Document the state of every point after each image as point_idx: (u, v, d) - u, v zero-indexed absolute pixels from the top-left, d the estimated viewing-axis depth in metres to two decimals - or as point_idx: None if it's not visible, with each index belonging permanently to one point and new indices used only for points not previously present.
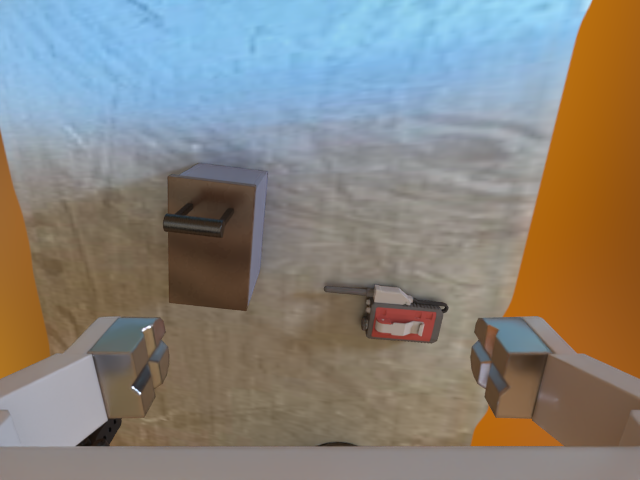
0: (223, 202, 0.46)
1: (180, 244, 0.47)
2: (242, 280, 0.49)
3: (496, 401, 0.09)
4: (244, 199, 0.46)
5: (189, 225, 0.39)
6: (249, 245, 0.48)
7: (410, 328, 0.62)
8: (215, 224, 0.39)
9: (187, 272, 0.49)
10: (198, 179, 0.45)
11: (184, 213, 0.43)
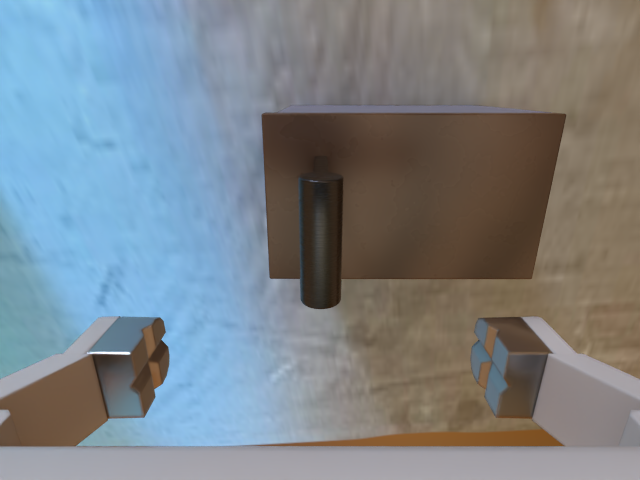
0: None
1: (400, 257, 0.24)
2: (484, 128, 0.21)
3: (495, 401, 0.09)
4: (292, 133, 0.22)
5: (313, 255, 0.16)
6: (396, 117, 0.21)
7: None
8: (305, 194, 0.16)
9: (462, 245, 0.24)
10: None
11: None
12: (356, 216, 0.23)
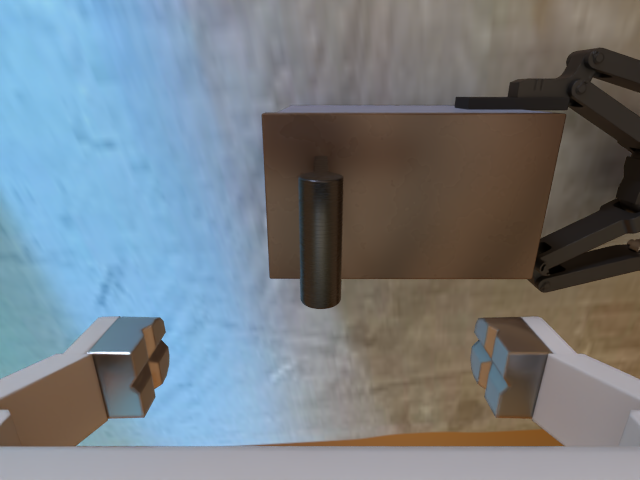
0: None
1: (400, 257, 0.24)
2: (484, 128, 0.21)
3: (495, 401, 0.09)
4: (292, 133, 0.22)
5: (313, 255, 0.16)
6: (396, 116, 0.21)
7: None
8: (305, 194, 0.16)
9: (462, 245, 0.24)
10: None
11: None
12: (356, 216, 0.23)
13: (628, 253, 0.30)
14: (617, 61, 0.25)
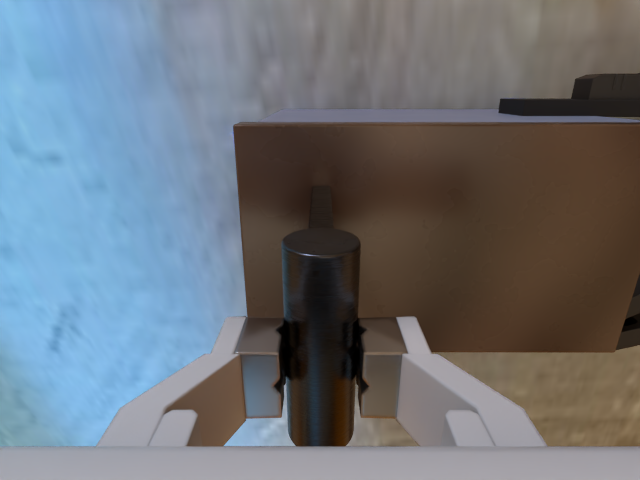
0: (298, 216, 0.15)
1: (433, 324, 0.17)
2: (562, 145, 0.14)
3: (360, 401, 0.09)
4: (279, 153, 0.15)
5: (309, 376, 0.09)
6: (433, 129, 0.14)
7: None
8: (293, 275, 0.09)
9: (521, 308, 0.17)
10: None
11: None
12: (371, 269, 0.16)
13: None
14: None
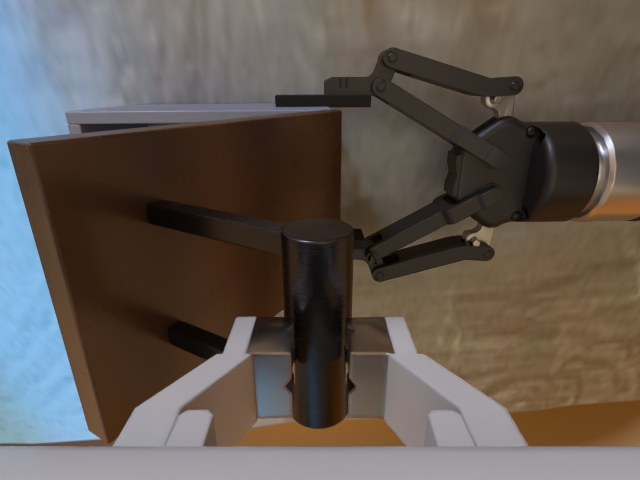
0: (136, 245, 0.13)
1: (260, 301, 0.19)
2: (300, 130, 0.20)
3: (348, 401, 0.09)
4: (101, 174, 0.11)
5: (340, 349, 0.10)
6: (233, 126, 0.15)
7: None
8: (326, 264, 0.09)
9: None
10: (82, 358, 0.12)
11: None
12: (212, 273, 0.16)
13: (457, 243, 0.32)
14: (411, 60, 0.26)
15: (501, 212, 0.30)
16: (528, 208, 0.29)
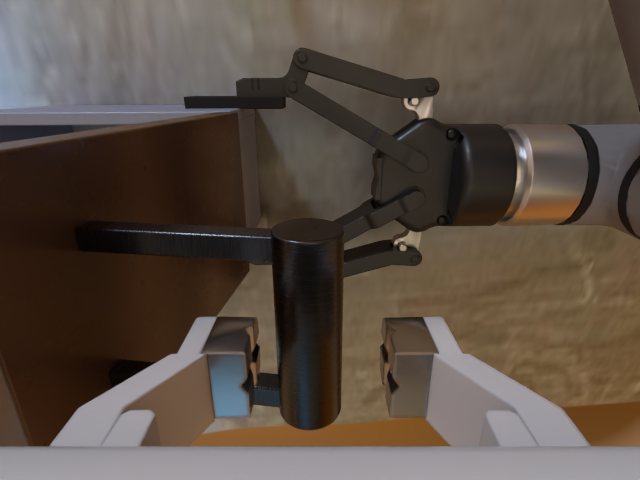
0: (69, 279, 0.10)
1: (190, 320, 0.18)
2: (207, 133, 0.18)
3: (390, 401, 0.09)
4: (23, 195, 0.09)
5: (339, 344, 0.11)
6: (150, 131, 0.14)
7: None
8: (328, 262, 0.09)
9: (219, 269, 0.21)
10: (17, 433, 0.09)
11: None
12: (145, 299, 0.14)
13: (384, 248, 0.31)
14: (322, 61, 0.26)
15: (426, 216, 0.30)
16: (451, 213, 0.28)
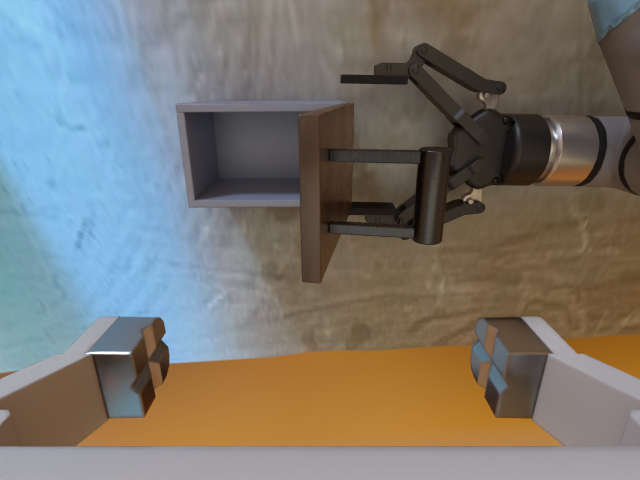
0: (327, 172, 0.24)
1: (339, 220, 0.31)
2: (347, 114, 0.32)
3: (495, 401, 0.09)
4: (325, 132, 0.22)
5: (445, 202, 0.24)
6: (339, 110, 0.27)
7: None
8: (446, 161, 0.23)
9: (346, 198, 0.34)
10: (316, 230, 0.23)
11: (378, 225, 0.25)
12: (334, 196, 0.27)
13: (457, 204, 0.45)
14: (435, 54, 0.38)
15: (484, 177, 0.43)
16: (503, 174, 0.42)
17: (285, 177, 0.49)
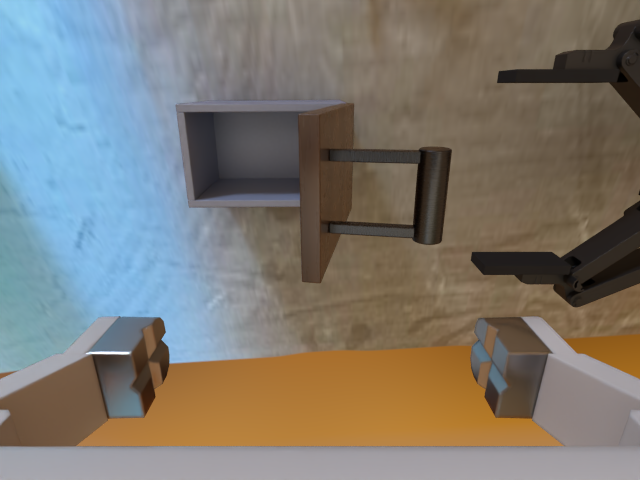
0: (327, 172, 0.24)
1: (339, 220, 0.31)
2: (347, 114, 0.32)
3: (495, 401, 0.09)
4: (325, 131, 0.22)
5: (445, 202, 0.24)
6: (339, 110, 0.27)
7: None
8: (446, 161, 0.23)
9: (346, 198, 0.34)
10: (316, 230, 0.23)
11: (378, 225, 0.25)
12: (334, 196, 0.27)
13: None
14: None
15: None
16: None
17: (285, 177, 0.49)
